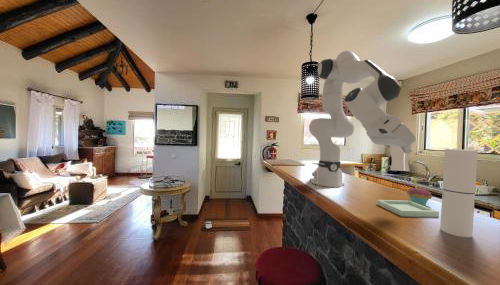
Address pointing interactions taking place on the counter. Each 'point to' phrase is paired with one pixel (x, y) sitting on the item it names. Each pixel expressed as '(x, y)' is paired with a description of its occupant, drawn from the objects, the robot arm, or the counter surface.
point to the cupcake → (419, 195)
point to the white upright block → (399, 158)
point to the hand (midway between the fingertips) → (401, 151)
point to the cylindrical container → (458, 192)
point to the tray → (407, 208)
